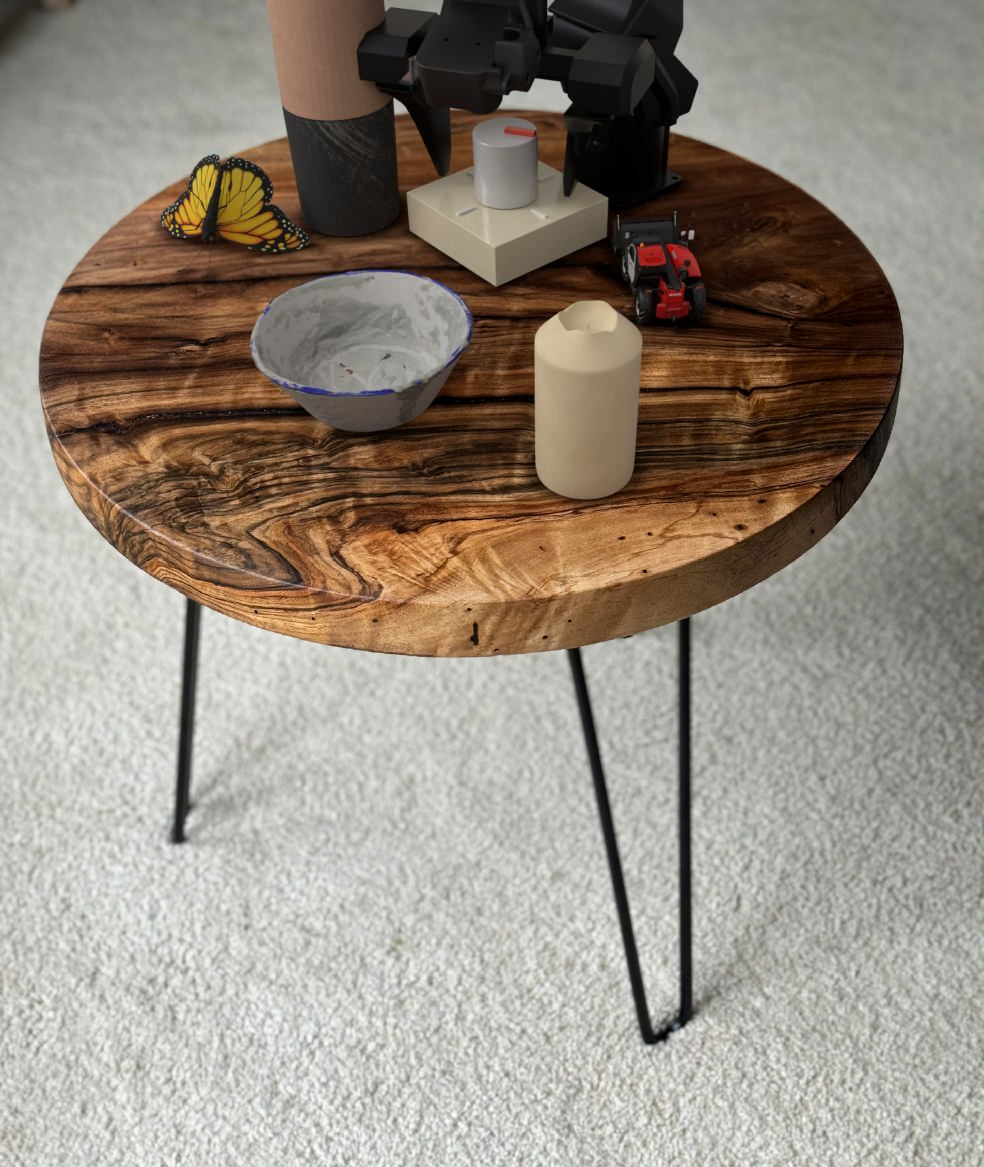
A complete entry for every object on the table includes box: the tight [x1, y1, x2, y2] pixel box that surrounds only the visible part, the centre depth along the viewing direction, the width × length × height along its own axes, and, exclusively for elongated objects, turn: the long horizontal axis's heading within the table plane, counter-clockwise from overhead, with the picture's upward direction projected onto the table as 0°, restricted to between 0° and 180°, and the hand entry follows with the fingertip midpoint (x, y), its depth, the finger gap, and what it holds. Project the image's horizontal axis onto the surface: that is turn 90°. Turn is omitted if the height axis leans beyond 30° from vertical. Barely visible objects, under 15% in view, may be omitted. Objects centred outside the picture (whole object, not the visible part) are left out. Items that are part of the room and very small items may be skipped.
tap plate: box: [406, 159, 609, 288], centre depth 86 cm, size 10×10×3 cm
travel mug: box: [266, 0, 400, 238], centre depth 83 cm, size 8×8×20 cm
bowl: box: [249, 269, 475, 433], centre depth 73 cm, size 13×13×5 cm
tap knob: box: [471, 116, 539, 209], centre depth 84 cm, size 4×4×5 cm
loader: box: [609, 210, 707, 325], centre depth 80 cm, size 12×5×5 cm, turn 5°
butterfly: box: [159, 153, 310, 278], centre depth 86 cm, size 12×9×5 cm
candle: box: [534, 300, 644, 500], centre depth 66 cm, size 6×6×10 cm
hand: (505, 184), depth 85 cm, fingers open, 9 cm apart
